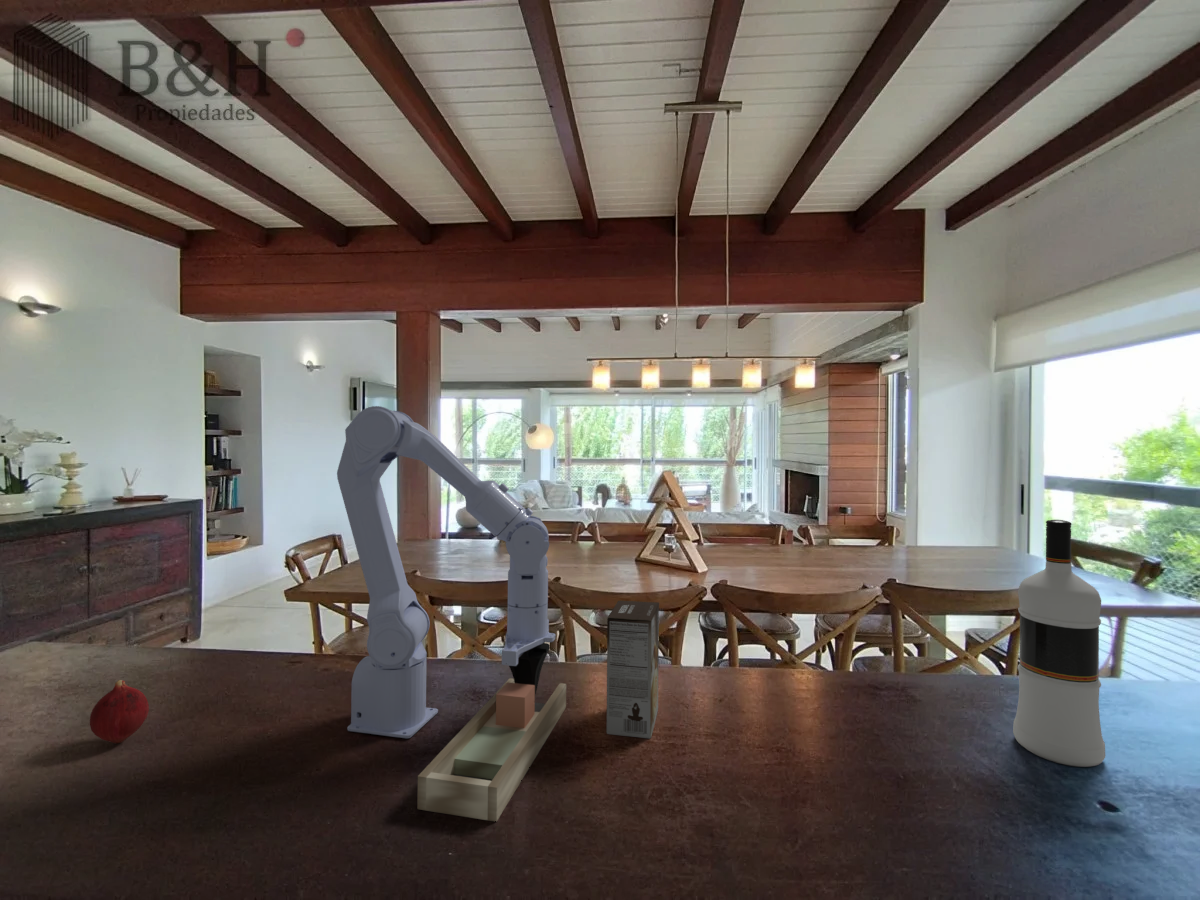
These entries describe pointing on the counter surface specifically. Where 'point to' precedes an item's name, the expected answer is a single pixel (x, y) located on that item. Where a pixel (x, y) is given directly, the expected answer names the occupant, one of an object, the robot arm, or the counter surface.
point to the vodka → (1059, 660)
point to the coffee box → (632, 668)
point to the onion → (119, 713)
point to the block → (515, 705)
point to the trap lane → (486, 761)
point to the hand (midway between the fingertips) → (526, 697)
